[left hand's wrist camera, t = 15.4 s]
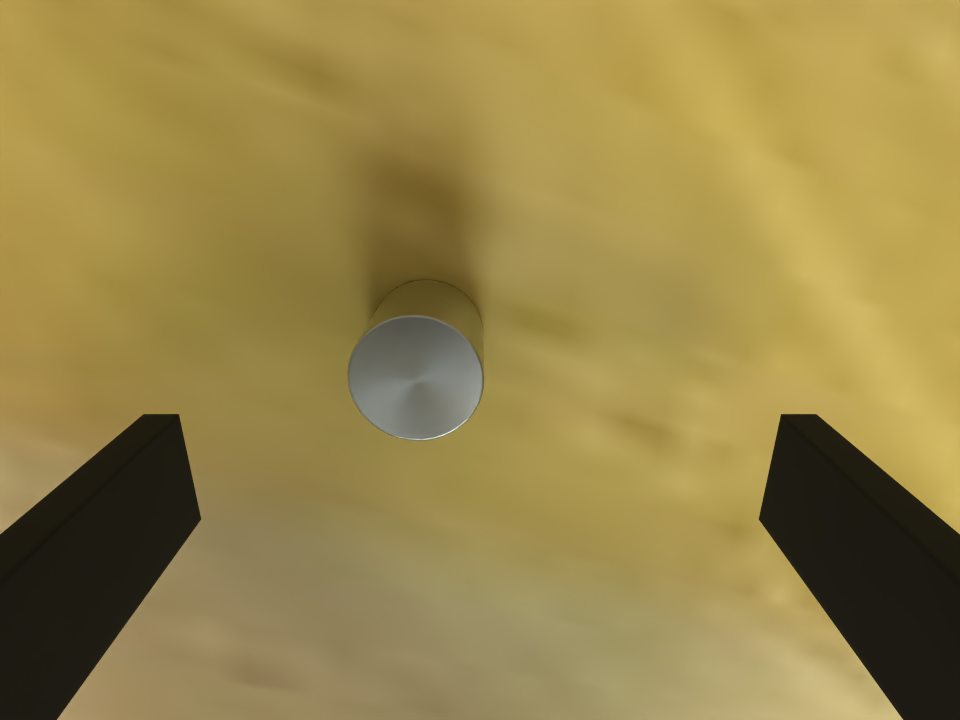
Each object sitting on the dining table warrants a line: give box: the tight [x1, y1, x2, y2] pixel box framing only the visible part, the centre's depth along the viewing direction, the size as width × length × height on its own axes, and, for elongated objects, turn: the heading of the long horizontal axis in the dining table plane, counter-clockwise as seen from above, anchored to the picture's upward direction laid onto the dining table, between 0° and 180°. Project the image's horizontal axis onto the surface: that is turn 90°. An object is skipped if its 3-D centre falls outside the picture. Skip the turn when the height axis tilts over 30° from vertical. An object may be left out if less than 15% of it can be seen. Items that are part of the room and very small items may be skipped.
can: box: [348, 280, 484, 440], centre depth 18 cm, size 4×4×4 cm
